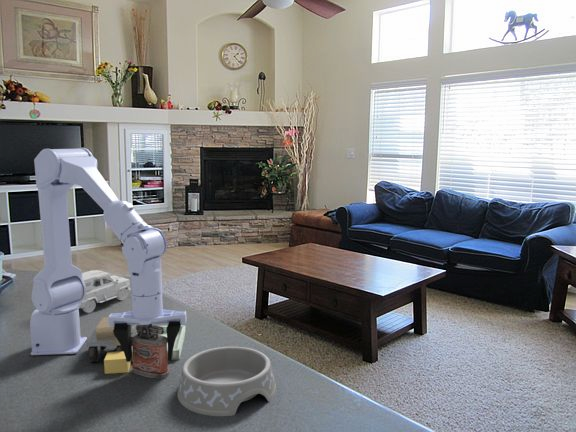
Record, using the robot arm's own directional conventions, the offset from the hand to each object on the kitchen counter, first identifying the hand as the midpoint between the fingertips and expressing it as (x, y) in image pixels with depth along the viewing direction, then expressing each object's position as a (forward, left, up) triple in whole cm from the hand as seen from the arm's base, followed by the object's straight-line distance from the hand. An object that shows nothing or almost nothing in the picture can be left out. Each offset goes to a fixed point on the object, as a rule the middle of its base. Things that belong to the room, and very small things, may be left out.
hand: (149, 358), depth 98 cm
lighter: (0, 0, -3) cm, 3 cm away
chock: (-7, +2, -3) cm, 8 cm away
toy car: (-22, +43, -3) cm, 48 cm away
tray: (0, +13, -3) cm, 13 cm away
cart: (-10, +10, -3) cm, 14 cm away
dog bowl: (+15, -8, -3) cm, 17 cm away
